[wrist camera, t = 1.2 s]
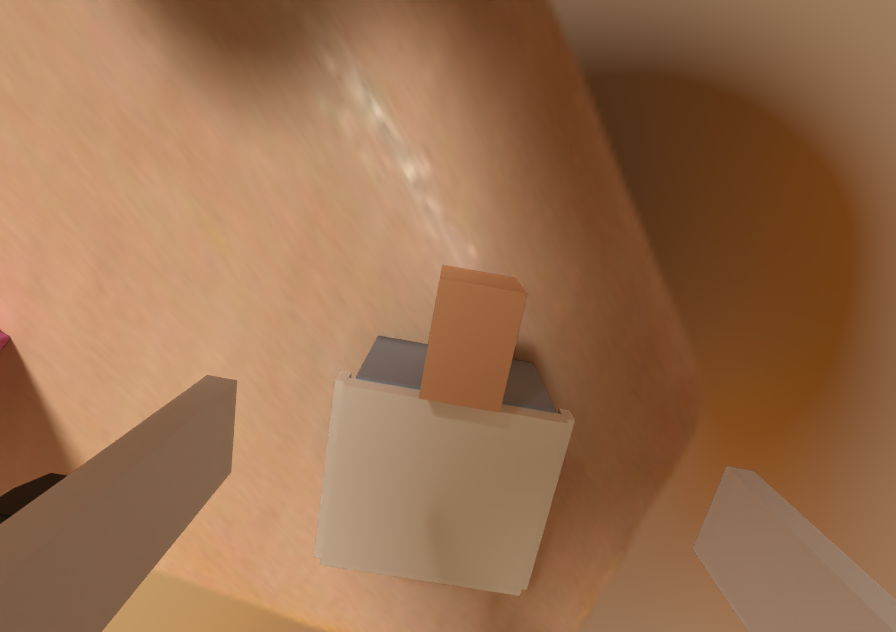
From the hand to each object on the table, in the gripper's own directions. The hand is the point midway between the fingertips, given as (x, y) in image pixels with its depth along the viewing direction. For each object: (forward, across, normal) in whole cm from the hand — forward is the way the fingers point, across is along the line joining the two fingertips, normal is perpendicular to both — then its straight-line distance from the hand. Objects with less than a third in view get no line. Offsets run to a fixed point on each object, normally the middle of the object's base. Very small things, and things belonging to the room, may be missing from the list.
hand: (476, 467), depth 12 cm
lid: (+13, 0, -6) cm, 14 cm away
